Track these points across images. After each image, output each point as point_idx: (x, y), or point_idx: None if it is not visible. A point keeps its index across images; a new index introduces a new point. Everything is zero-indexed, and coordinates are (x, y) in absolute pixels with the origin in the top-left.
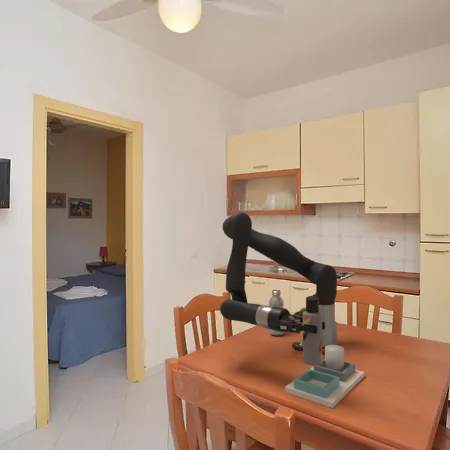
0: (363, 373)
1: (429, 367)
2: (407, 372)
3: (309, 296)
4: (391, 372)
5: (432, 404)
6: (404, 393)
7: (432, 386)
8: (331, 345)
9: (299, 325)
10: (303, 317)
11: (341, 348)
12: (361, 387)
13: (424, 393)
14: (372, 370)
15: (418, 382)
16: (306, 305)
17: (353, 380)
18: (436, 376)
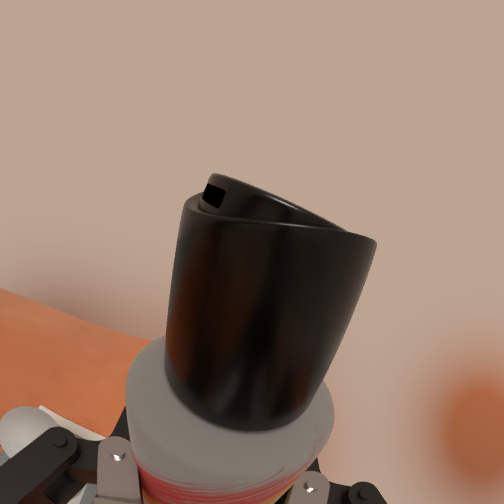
0: (45, 408)
1: (7, 306)
2: (21, 336)
3: (275, 196)
4: (20, 358)
5: (137, 339)
6: (108, 363)
7: (73, 324)
8: (3, 438)
9: (361, 483)
10: (305, 470)
11: (29, 413)
12: (105, 429)
13: (100, 339)
14: (10, 386)
15: (60, 335)
16: (335, 350)
17: (97, 437)
18: (38, 310)
